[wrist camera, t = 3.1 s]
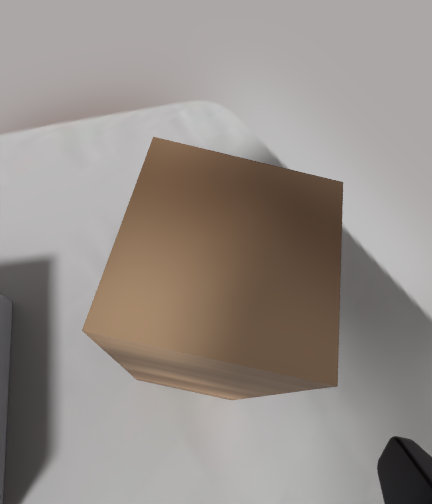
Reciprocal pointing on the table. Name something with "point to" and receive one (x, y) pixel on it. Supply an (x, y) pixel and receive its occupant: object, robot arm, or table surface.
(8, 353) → the plate
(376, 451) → the table surface
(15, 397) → the table surface
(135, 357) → the walnut block
